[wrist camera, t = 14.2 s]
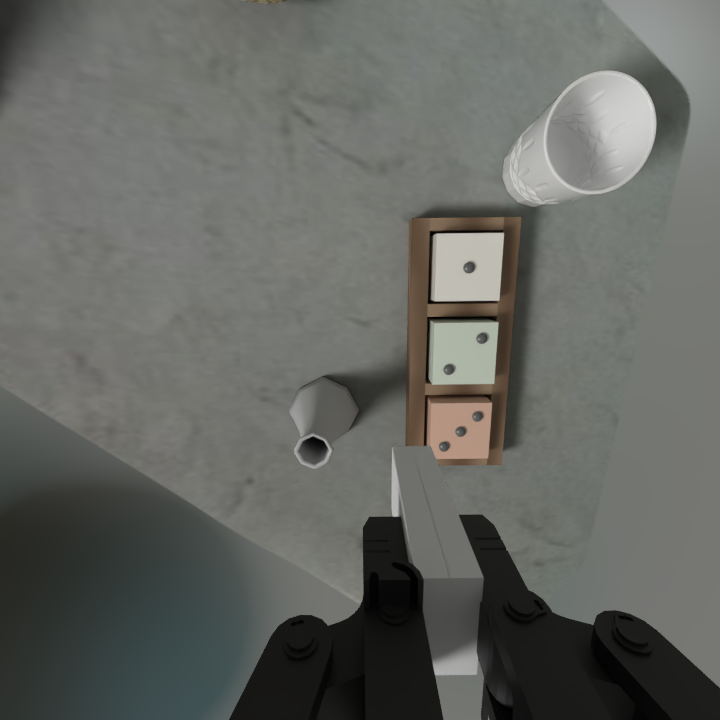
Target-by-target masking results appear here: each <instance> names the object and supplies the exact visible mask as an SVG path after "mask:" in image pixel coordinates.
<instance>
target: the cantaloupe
mask: <svg viewBox="0 0 720 720" xmlns="http://www.w3.org/2000/svg"><path fill="white" fill-rule="evenodd" d="M243 1H245V2H247V1H250V2H260V3H263V4H269V3H272V4H275V3H280V2H284V1H287V0H243Z"/></svg>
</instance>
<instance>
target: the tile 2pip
mask: <svg viewBox="0 0 720 720" xmlns="http://www.w3.org/2000/svg"><path fill="white" fill-rule="evenodd" d="M498 324H499V322H496V321H494V320H491V319H488V318H459V319H428V352H427V377H428V379H429V380H430V382H431V383H432V385H446V384H494V380H495V366H496V352H497V338H498Z"/></svg>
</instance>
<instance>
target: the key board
mask: <svg viewBox="0 0 720 720" xmlns="http://www.w3.org/2000/svg"><path fill="white" fill-rule="evenodd" d="M520 229H521V217H471V218H412V219H411V220H410V221H409V269H408V328H407V387H406V446H424V414H425V395H478V394H484V395H485V396H486V397H487V398H488V399H489V400H490V401H491V402H492V412H491V426H490V441H489V455H488V458H484V459H436V460H437V463H438V465H502V455H503V443H504V430H505V417H506V405H507V392H508V380H509V367H510V355H511V342H512V330H513V317H514V305H515V292H516V279H517V267H518V254H519V242H520ZM469 232H494V233H504V242H503V256H502V270H501V285H500V299H499V301H490V302H428V273H429V238H430V233H469ZM455 316H489V318H488V319H491V320H494V321H496V322H499V324H498V338H497V352H496V366H495V380H494V384H446V385H432V383H431V382H430V380H429V379H428V377H426V344H427V317H455Z"/></svg>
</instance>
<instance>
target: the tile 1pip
mask: <svg viewBox="0 0 720 720" xmlns="http://www.w3.org/2000/svg"><path fill="white" fill-rule="evenodd" d="M503 242H504V233H448V234H435V235H433V236H431V237H430V271H429V299H430V300H433V301H499V299H500V285H501V270H502V256H503Z"/></svg>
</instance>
